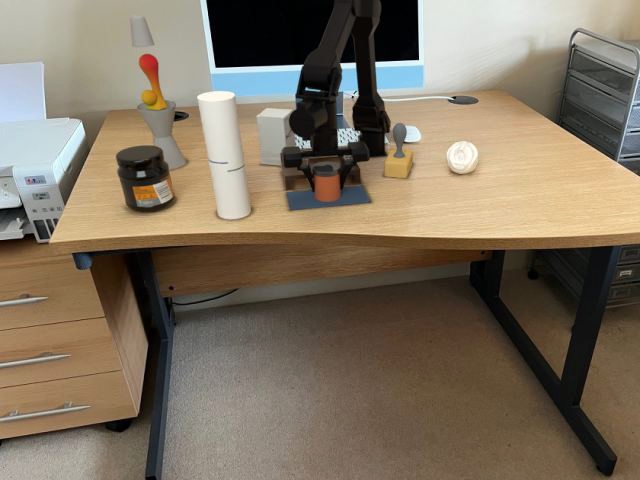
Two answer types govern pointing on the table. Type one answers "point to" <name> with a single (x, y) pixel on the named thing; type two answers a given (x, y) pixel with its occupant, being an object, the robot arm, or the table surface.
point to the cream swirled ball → (462, 157)
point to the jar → (326, 181)
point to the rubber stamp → (398, 155)
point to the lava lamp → (155, 98)
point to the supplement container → (145, 178)
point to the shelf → (294, 174)
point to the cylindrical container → (225, 153)
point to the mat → (308, 201)
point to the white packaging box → (274, 134)
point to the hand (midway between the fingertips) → (327, 190)
